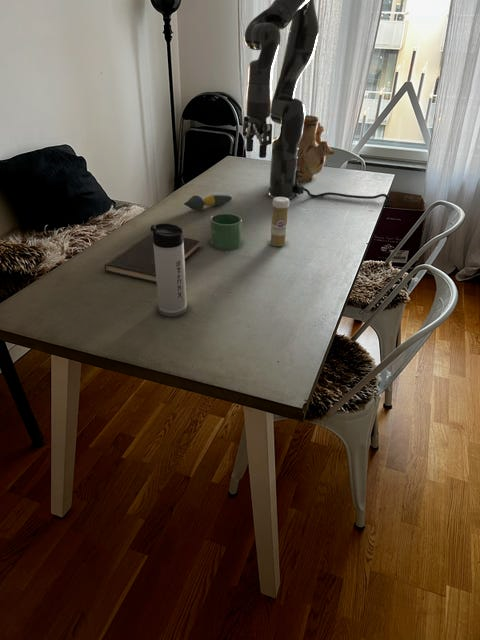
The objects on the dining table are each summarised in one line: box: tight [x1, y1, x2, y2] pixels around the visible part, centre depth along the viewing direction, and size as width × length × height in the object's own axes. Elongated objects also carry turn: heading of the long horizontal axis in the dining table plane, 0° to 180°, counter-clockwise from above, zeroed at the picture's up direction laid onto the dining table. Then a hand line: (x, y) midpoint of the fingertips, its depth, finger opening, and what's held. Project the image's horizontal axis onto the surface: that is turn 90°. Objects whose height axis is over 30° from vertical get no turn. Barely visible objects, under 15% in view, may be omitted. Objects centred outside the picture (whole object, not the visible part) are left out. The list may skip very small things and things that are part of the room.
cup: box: [209, 212, 243, 251], centre depth 134 cm, size 9×9×8 cm
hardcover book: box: [104, 231, 201, 284], centre depth 126 cm, size 16×23×2 cm
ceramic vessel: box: [297, 114, 335, 182], centre depth 183 cm, size 18×19×25 cm
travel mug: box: [149, 223, 188, 318], centre depth 100 cm, size 6×7×20 cm
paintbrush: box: [183, 193, 233, 211], centre depth 160 cm, size 20×5×5 cm, turn 134°
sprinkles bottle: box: [269, 197, 290, 247], centre depth 133 cm, size 5×5×14 cm
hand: (255, 154), depth 151 cm, fingers open, 8 cm apart
